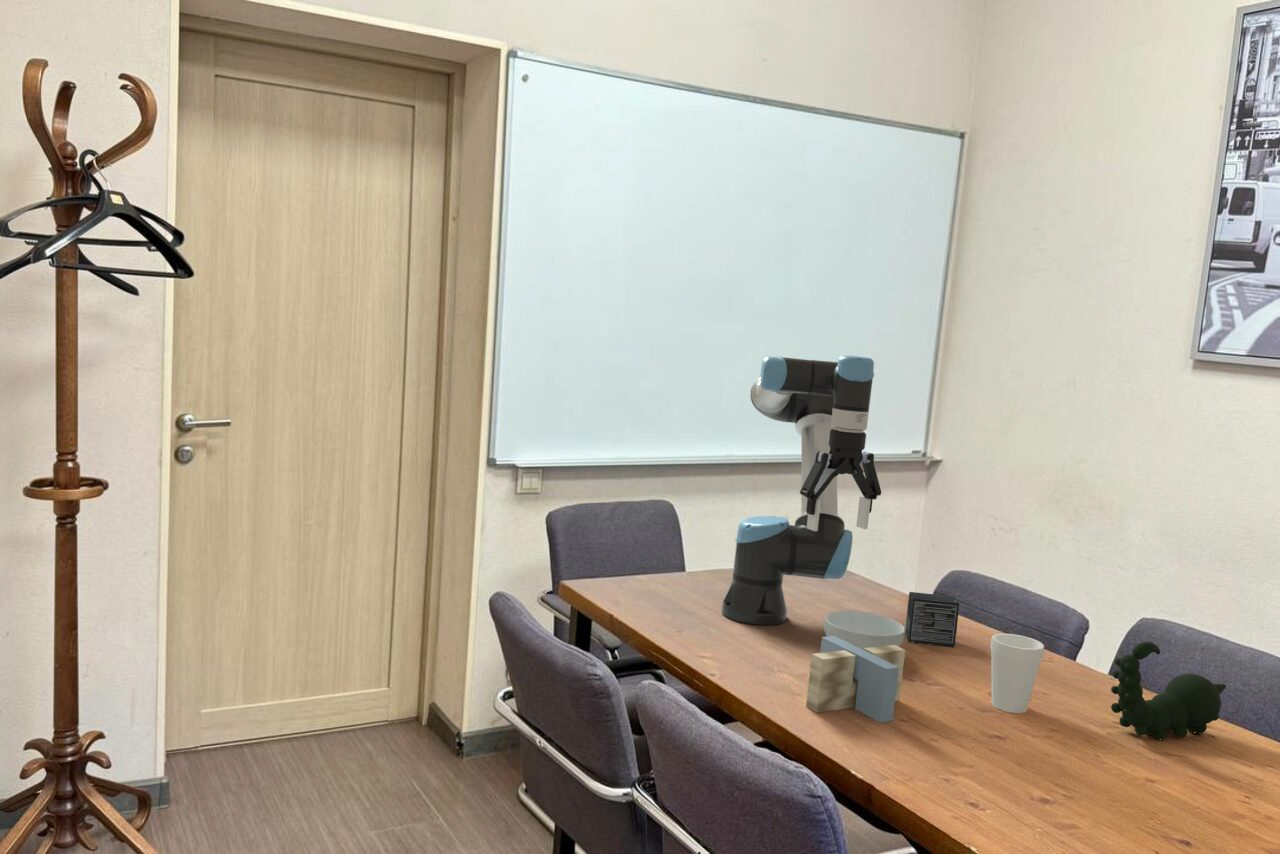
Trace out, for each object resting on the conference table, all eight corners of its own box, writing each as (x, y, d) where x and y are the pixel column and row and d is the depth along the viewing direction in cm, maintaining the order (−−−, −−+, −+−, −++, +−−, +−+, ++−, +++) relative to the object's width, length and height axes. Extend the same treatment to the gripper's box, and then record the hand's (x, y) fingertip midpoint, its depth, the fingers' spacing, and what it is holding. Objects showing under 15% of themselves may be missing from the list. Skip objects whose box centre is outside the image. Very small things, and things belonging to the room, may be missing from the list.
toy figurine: (1134, 756, 191) (1243, 737, 199) (1141, 654, 188) (1251, 639, 196) (1096, 734, 200) (1202, 717, 208) (1103, 637, 197) (1209, 623, 205)
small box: (950, 639, 247) (955, 595, 246) (955, 648, 241) (961, 603, 239) (903, 634, 248) (908, 590, 247) (907, 642, 242) (913, 597, 240)
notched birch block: (816, 712, 194) (822, 659, 193) (806, 706, 196) (812, 653, 195) (899, 700, 204) (905, 649, 202) (888, 695, 206) (894, 644, 205)
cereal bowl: (817, 658, 225) (820, 625, 224) (825, 636, 241) (828, 605, 240) (899, 672, 220) (903, 639, 220) (902, 649, 236) (906, 618, 236)
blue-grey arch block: (816, 687, 207) (821, 637, 206) (828, 685, 209) (834, 635, 207) (880, 722, 192) (886, 668, 190) (892, 720, 193) (899, 667, 192)
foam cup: (1034, 704, 209) (1043, 639, 207) (1035, 720, 200) (1044, 652, 198) (983, 694, 212) (992, 630, 210) (982, 709, 203) (991, 643, 201)
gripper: (812, 431, 216) (801, 534, 218) (905, 433, 228) (893, 530, 230) (790, 426, 222) (779, 526, 225) (881, 428, 234) (870, 523, 237)
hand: (837, 528), depth 228 cm, fingers open, 13 cm apart
